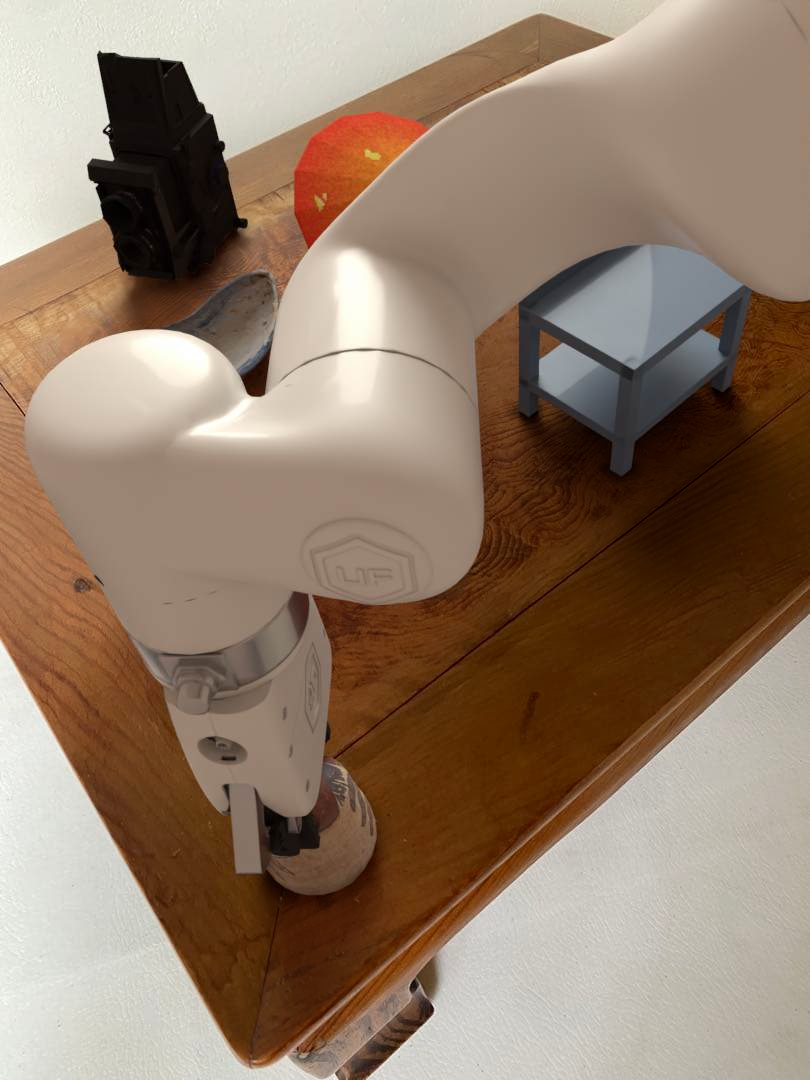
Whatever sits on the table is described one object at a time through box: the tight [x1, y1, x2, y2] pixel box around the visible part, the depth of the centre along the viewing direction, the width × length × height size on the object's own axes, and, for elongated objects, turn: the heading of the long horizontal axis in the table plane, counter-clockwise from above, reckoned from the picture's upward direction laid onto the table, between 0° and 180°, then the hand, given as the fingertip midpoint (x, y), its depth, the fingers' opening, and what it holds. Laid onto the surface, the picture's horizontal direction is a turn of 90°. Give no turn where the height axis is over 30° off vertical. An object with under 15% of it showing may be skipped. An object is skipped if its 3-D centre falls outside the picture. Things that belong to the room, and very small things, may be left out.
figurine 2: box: [263, 755, 378, 896], centre depth 56 cm, size 7×7×12 cm
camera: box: [86, 49, 249, 283], centre depth 93 cm, size 10×14×20 cm
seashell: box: [154, 268, 280, 378], centre depth 88 cm, size 15×12×5 cm
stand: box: [518, 244, 753, 477], centre depth 78 cm, size 11×14×13 cm
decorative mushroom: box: [293, 111, 431, 250], centre depth 91 cm, size 15×21×15 cm
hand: (297, 787), depth 55 cm, fingers closed on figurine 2, 5 cm apart
